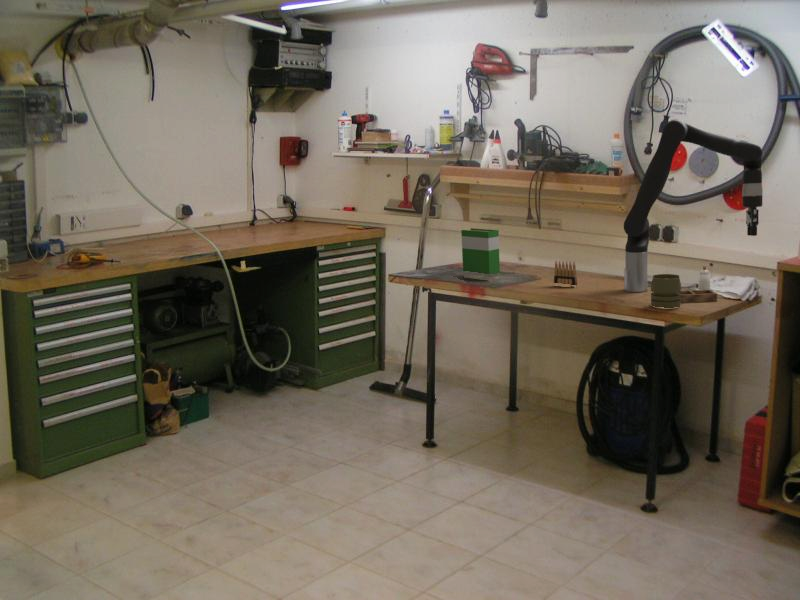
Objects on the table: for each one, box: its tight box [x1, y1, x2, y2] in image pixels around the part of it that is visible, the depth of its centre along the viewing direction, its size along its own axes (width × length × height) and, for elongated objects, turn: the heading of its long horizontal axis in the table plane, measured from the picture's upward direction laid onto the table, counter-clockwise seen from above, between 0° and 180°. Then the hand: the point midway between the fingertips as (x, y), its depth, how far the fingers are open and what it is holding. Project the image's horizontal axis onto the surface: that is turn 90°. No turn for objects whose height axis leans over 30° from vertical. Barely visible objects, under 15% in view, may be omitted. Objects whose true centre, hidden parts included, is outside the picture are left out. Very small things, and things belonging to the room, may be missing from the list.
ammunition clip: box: [553, 260, 578, 286], centre depth 390 cm, size 11×2×12 cm, turn 54°
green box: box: [460, 227, 501, 274], centre depth 421 cm, size 18×7×24 cm, turn 42°
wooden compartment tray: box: [678, 289, 718, 303], centre depth 350 cm, size 17×9×3 cm, turn 86°
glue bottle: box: [697, 265, 711, 290], centre depth 360 cm, size 5×5×12 cm
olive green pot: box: [650, 273, 682, 308], centre depth 340 cm, size 11×12×11 cm
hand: (752, 235), depth 347 cm, fingers open, 8 cm apart
